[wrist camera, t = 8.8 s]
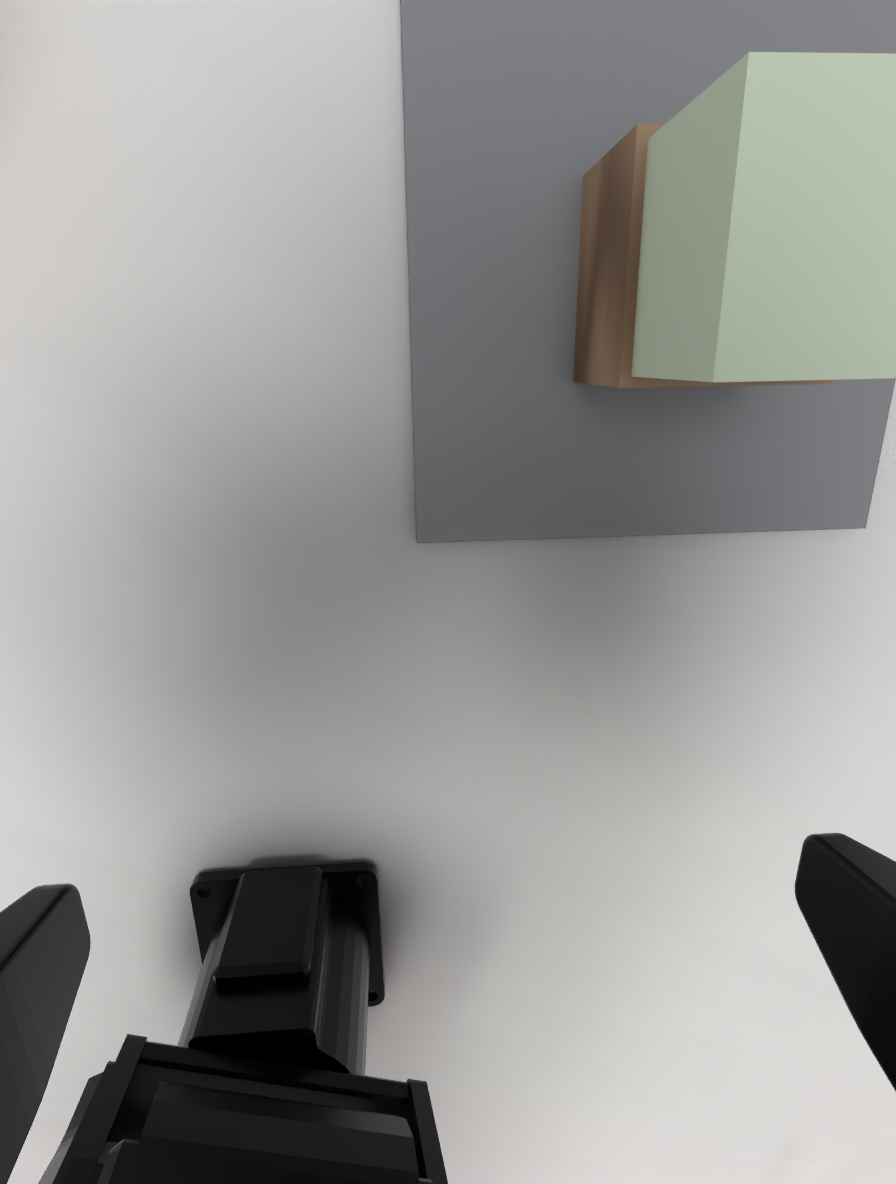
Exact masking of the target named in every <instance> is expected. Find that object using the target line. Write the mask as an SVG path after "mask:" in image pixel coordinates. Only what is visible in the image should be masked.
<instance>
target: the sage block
mask: <svg viewBox="0 0 896 1184" xmlns="http://www.w3.org/2000/svg"><path fill="white" fill-rule="evenodd" d="M631 376H632V377H645V378H659V379H673V380H687V381H701V382H752V381H796V380H841V379H885V378H896V54H890V53H806V52H748V53H747V54H746V55H745V56H744V57H743V58H741V59H740V60H739V61H738V62H737V63H736V64H734V65H733V66H732V67H731V68H730V69H729V70H728V71H726V72H725V73H724V74H723V75H722V76H721V77H719V78H718V79H717V80H716V81H715V82H714V83H712V84H711V85H710V86H709V87H708V88H707V89H706V90H704V91H703V92H702V93H701V94H700V95H699V96H697V97H696V98H695V99H694V100H693V101H692V102H690V103H689V104H688V105H687V106H686V107H685V108H684V109H682V110H681V111H680V112H679V113H678V114H677V115H675V116H674V117H673V118H672V119H671V120H670V121H669V122H667V123H666V124H665V125H664V126H663V127H662V128H660V129H659V130H658V131H657V132H656V133H655V134H653V135H652V136H651V137H650V138H649V139H648V145H647V159H646V173H645V187H644V202H643V216H642V230H641V244H640V259H639V273H638V287H637V302H636V316H635V330H634V344H633V359H632V373H631Z"/></svg>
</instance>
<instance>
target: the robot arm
mask: <svg viewBox="0 0 896 1184" xmlns="http://www.w3.org/2000/svg"><path fill="white" fill-rule="evenodd" d="M360 876H367V877H369V878H366V879H361V878H359V877H360ZM203 886H204V887H208V888H210V889H209V890H208V889H204V888H202V887H203ZM795 895H796V900H797V903H798V906H799V908H800V910H801V912H802V914H803V916H804V918H805V920H806V922H807V924H808V927H809V929H810V931H811V933H812V935H813V937H814V939H815V941H816V943H817V945H818V947H819V949H820V951H821V953H822V955H823V957H824V959H825V962H826V964H827V966H828V968H829V970H830V972H831V974H832V976H833V978H834V980H835V982H836V984H837V986H838V988H839V990H840V992H841V994H842V996H843V999H844V1001H845V1003H846V1005H847V1007H848V1009H849V1011H850V1013H851V1015H852V1016H853V1018H854V1020H855V1022H856V1024H857V1026H858V1028H859V1030H860V1032H861V1033H862V1035H863V1037H864V1039H865V1040H866V1042H867V1044H868V1045H869V1047H870V1049H871V1051H872V1052H873V1054H874V1056H875V1057H876V1059H877V1061H878V1062H879V1064H880V1066H881V1067H882V1069H883V1071H884V1072H885V1074H886V1076H887V1077H888V1079H889V1081H890V1082H891V1084H892V1086H893V1087H894V1089H895V1091H896V862H895V861H893V860H891V859H890V858H888V857H886V856H884V855H882V854H880V853H878V852H876V851H874V850H872V849H871V848H869V847H867V846H865V845H863V844H861V843H859V842H857V841H855V840H853V839H852V838H850V837H848V836H846V835H844V834H840V833H824V834H812V835H809V836H808V837H807V838H806V839H805V840H804V842H803V846H802V851H801V856H800V861H799V866H798V871H797V876H796V881H795ZM190 897H191V903H192V908H193V914H194V919H195V925H196V930H197V936H198V941H199V947H200V953H201V958H202V964H203V966H202V969H201V972H200V976H199V979H198V982H197V985H196V988H195V991H194V995H193V998H192V1001H191V1004H190V1007H189V1010H188V1014H187V1017H186V1020H185V1023H184V1026H183V1030H182V1033H181V1036H180V1039H179V1042H178V1045H177V1046H174V1045H168V1044H161V1043H155V1042H149V1041H147V1037H143V1036H136V1035H130V1034H127V1037H126V1039H125V1041H124V1043H123V1046H122V1048H121V1050H120V1052H119V1055H118V1057H117V1059H116V1061H115V1062H111V1061H108V1063H107V1065H106V1068H105V1070H104V1072H102V1073H100V1074H98V1075H96V1076H93V1077H91V1078H89V1079H88V1082H87V1084H86V1087H85V1089H84V1091H83V1094H82V1096H81V1098H80V1101H79V1103H78V1105H77V1108H76V1110H75V1112H74V1115H73V1117H72V1120H71V1122H70V1124H69V1126H68V1129H67V1131H66V1133H65V1135H64V1137H63V1140H62V1142H61V1144H60V1146H59V1148H58V1150H57V1152H56V1153H55V1155H54V1157H53V1159H52V1160H51V1162H50V1164H49V1166H48V1167H47V1169H46V1171H45V1173H44V1174H43V1176H42V1178H41V1180H40V1181H39V1183H38V1184H448V1181H447V1176H446V1171H445V1167H444V1162H443V1157H442V1153H441V1148H440V1143H439V1138H438V1134H437V1129H436V1124H435V1119H434V1115H433V1110H432V1105H431V1101H430V1096H429V1091H428V1086H427V1083H426V1082H425V1081H419V1080H412V1079H408V1080H407V1082H401V1081H395V1080H389V1079H382V1078H376V1077H370V1076H365V1062H366V1037H367V1012H368V1007H369V1006H375V1005H378V1004H380V1003H381V1002H382V1001H383V1000H384V996H385V983H384V966H383V950H382V933H381V916H380V900H379V883H378V871H377V868H376V867H375V866H374V865H373V864H371V863H368V862H357V863H342V864H326V865H311V866H296V867H281V868H266V869H250V870H235V871H220V872H205V873H201V874H199V875H197V876H196V877H195V879H194V880H193V883H192V885H191V888H190ZM89 952H90V933H89V929H88V925H87V921H86V917H85V913H84V909H83V906H82V902H81V898H80V894H79V891H78V889H77V888H76V887H75V886H74V885H72V884H55V885H42V886H38V887H35V888H34V889H32V890H30V891H29V892H27V893H26V894H25V895H23V896H22V897H21V898H19V899H18V900H16V901H15V902H14V903H12V904H11V905H10V906H8V907H7V908H5V909H4V910H3V911H1V912H0V1184H7V1182H8V1179H9V1177H10V1175H11V1172H12V1170H13V1168H14V1165H15V1163H16V1161H17V1158H18V1156H19V1154H20V1151H21V1149H22V1147H23V1144H24V1142H25V1140H26V1137H27V1135H28V1133H29V1130H30V1128H31V1126H32V1123H33V1121H34V1118H35V1116H36V1113H37V1111H38V1108H39V1106H40V1103H41V1101H42V1098H43V1095H44V1092H45V1089H46V1087H47V1084H48V1081H49V1078H50V1075H51V1072H52V1069H53V1066H54V1063H55V1060H56V1056H57V1053H58V1050H59V1047H60V1044H61V1041H62V1038H63V1035H64V1032H65V1029H66V1025H67V1022H68V1019H69V1016H70V1013H71V1010H72V1007H73V1004H74V1001H75V998H76V994H77V991H78V988H79V985H80V982H81V979H82V976H83V973H84V970H85V967H86V963H87V960H88V957H89Z"/></svg>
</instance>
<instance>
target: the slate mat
mask: <svg viewBox="0 0 896 1184" xmlns="http://www.w3.org/2000/svg"><path fill="white" fill-rule="evenodd" d="M400 6H401V39H402V73H403V106H404V140H405V173H406V207H407V240H408V274H409V307H410V341H411V374H412V408H413V441H414V475H415V508H416V540H417V543H432V542H463V541H493V540H523V539H554V538H584V537H614V536H644V535H675V534H705V533H735V532H766V531H796V530H826V529H856V528H866V523H867V518H868V513H869V508H870V503H871V498H872V493H873V488H874V483H875V478H876V473H877V468H878V463H879V458H880V453H881V448H882V443H883V438H884V433H885V428H886V424H887V419H888V414H889V409H890V404H891V399H892V394H893V389H894V384H895V379H896V378H885V379H841V380H834V384H811V385H754V386H696V387H638V388H616V387H608V386H601V385H593V384H585V383H577V382H573V375H574V353H575V332H576V311H577V290H578V269H579V248H580V227H581V206H582V184H583V176H584V175H585V174H586V173H587V172H588V171H589V170H590V169H591V168H592V167H593V166H594V165H595V164H596V163H597V162H598V161H599V160H600V159H601V158H602V157H603V156H604V155H605V154H606V153H607V152H608V151H609V150H611V149H612V148H613V147H614V146H615V145H616V144H617V143H618V142H619V141H620V140H621V139H622V138H623V137H624V136H625V135H626V134H627V133H628V132H629V131H630V130H631V129H632V128H633V127H634V126H635V125H636V124H666V123H667V122H669V121H670V120H671V119H672V118H673V117H674V116H675V115H677V114H678V113H679V112H680V111H681V110H682V109H684V108H685V107H686V106H687V105H688V104H689V103H690V102H692V101H693V100H694V99H695V98H696V97H697V96H699V95H700V94H701V93H702V92H703V91H704V90H706V89H707V88H708V87H709V86H710V85H711V84H712V83H714V82H715V81H716V80H717V79H718V78H719V77H721V76H722V75H723V74H724V73H725V72H726V71H728V70H729V69H730V68H731V67H732V66H733V65H734V64H736V63H737V62H738V61H739V60H740V59H741V58H743V57H744V56H745V55H746V54H747V53H748V52H806V53H890V54H896V0H400Z"/></svg>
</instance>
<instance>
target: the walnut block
mask: <svg viewBox="0 0 896 1184" xmlns="http://www.w3.org/2000/svg"><path fill="white" fill-rule="evenodd" d="M664 125H665V124H636V125H635V126H634V127H633V128H632V129H631V130H630V131H629V132H628V133H627V134H626V135H625V136H624V137H623V138H622V139H621V140H620V141H619V142H618V143H617V144H616V145H615V146H614V147H613V148H612V149H611V150H609V151H608V152H607V153H606V154H605V155H604V156H603V157H602V158H601V159H600V160H599V161H598V162H597V163H596V164H595V165H594V166H593V167H592V168H591V169H590V170H589V171H588V172H587V173H586V174H585V175H584V176H583V184H582V206H581V227H580V248H579V269H578V290H577V311H576V332H575V353H574V375H573V382H577V383H585V384H593V385H601V386H608V387H616V388H638V387H696V386H754V385H811V384H834V380H796V381H752V382H701V381H687V380H673V379H659V378H645V377H632V376H631V373H632V359H633V344H634V330H635V316H636V302H637V287H638V273H639V259H640V244H641V230H642V216H643V202H644V187H645V173H646V159H647V145H648V139H649V138H650V137H651V136H652V135H653V134H655V133H656V132H657V131H658V130H659V129H660V128H662V127H663V126H664Z"/></svg>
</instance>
